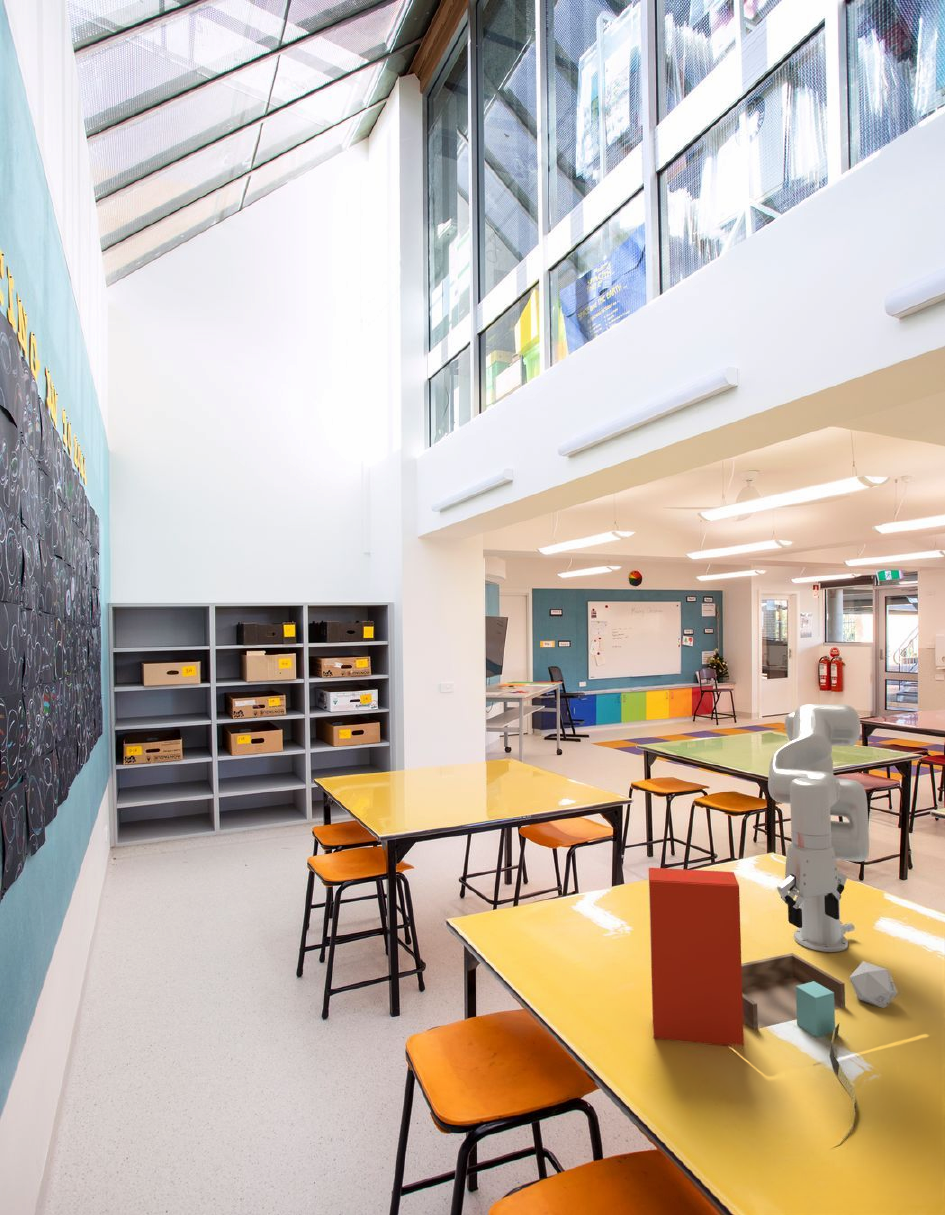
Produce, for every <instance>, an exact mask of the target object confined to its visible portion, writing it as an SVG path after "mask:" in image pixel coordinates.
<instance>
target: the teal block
mask: <svg viewBox="0 0 945 1215" xmlns="http://www.w3.org/2000/svg"><path fill="white" fill-rule="evenodd" d="M796 1008H797V1019H796V1025H797V1026H798V1027H800V1028H802V1029H803V1030H804V1031H806V1032H807V1033H809V1034H811V1035H813V1036H814V1037H815V1038H819V1037H822V1036H825V1035H830V1034H833V1030H834V1029H835V1028H836V1013H835V1011H836V1009H835V1007H834V992H832V991H830V990H829V989H827V988H825V987H823V986H822V985H820V984H818V983H816V982H814V981H813V982H809V983H805V984H802V985H798V986H796Z"/></svg>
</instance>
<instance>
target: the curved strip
mask: <svg viewBox="0 0 945 1215" xmlns="http://www.w3.org/2000/svg"><path fill="white" fill-rule="evenodd" d="M839 1031H840V1023H838V1024H837V1025H836V1026H835V1029H834V1030H833V1033H832V1038H831V1043H830V1048H829V1059H830V1064H831V1066H832V1069H833V1071H834V1073H835V1074H836V1076H837V1078H838V1079H839V1081H840V1082H841V1084H842V1085H843V1086H844V1088H845V1090H846V1091H847V1092H848V1094H849V1095H850V1097H851V1101H852V1104H853V1108H854V1112H855V1114H854V1117H856V1116H857V1111H858V1110H857V1109H858V1106H857V1102H856V1097H855V1092H854V1087H853V1086H852V1083H851V1082H850V1081H849V1079H848V1077H847V1076H846V1074H845V1071H843V1068H842V1067H841V1065H840V1063H839V1061H838V1059H837V1056H835V1052H834V1048H833V1043H834V1041H835V1040H836V1039H837V1037H838V1036H839ZM855 1121H856V1118H854V1120H853V1124H852V1126H851V1127H850V1129H849V1130H848V1131H847V1133H846V1135H845V1136H844V1138H843V1139H842V1140H841V1142H840V1143H841V1144H842V1143H843V1142H844V1141H845V1140H846V1139H847V1137H848V1136H849V1135H850V1134H851V1132H852V1131H853V1130H854V1126H855ZM848 1134H849V1135H848ZM844 1139H845V1140H844ZM843 1140H844V1141H843Z"/></svg>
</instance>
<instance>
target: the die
mask: <svg viewBox="0 0 945 1215" xmlns="http://www.w3.org/2000/svg"><path fill="white" fill-rule="evenodd" d="M848 979H849V981H850V983H851V985H852V988H853V990H854V993H855V995H856V997H857V999H859V1001H861V1002H864V1003H868V1004H870V1005H872V1006H876V1007H878V1008H883V1009H885V1008H887V1007H888V1006H889V1004H890V1003H892V1001H893V999H894V998H895V997H896V996H897V995H898V993H899V991H898V988H897V987H896V985H895V983H894V980H893V978H892V976H891V973H890V971H889V969H887V968H884V967H881V966H878V965H875V964H873V963H869V962H866V961H864V960H863V961H862V962H861V963H860V964H859V965H858V966H857V968H856V969H855V970H854V971H853V972H852V974H850V976H849V977H848Z"/></svg>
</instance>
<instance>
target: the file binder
mask: <svg viewBox="0 0 945 1215" xmlns="http://www.w3.org/2000/svg"><path fill="white" fill-rule="evenodd" d="M648 887H649V888H648V892H649V893H648V894H649V896H648V897H649V899H648V900H649V929H650V930H649V935H650V936H649V937H650V966H651V967H650V968H651V969H650V970H651V972H650V973H651V976H650V977H651V1002H652V1006H651V1007H652V1029H653V1039H657V1040H658V1039H659V1040H665V1041H666V1040H668V1041H677V1042H678V1041H679V1042H684V1043H685V1042H686V1043H696V1044H707V1045H715V1046H716V1045H717V1046H727V1047H732V1045H739V1046H744V1045H745V1041H744V1039H745V1038H744V1037H745V1036H744V1021H743V1000H742V966H741V964H742V942H741V941H742V940H741V936H742V934H741V909H740V908H741V905H740V902H741V900H740V898H741V897H740V884H739V882H738V879H737V876H736V874H735V873H734V871H724V870H723V871H721V870H719V871H718V870H704V869H701V870H699V869H681V868H664V867H663V868H662V867H648Z"/></svg>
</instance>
